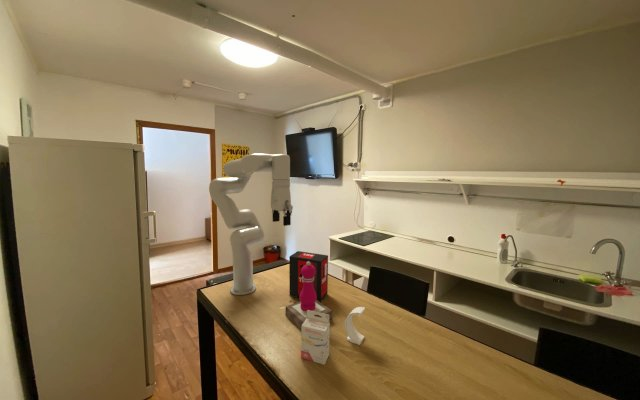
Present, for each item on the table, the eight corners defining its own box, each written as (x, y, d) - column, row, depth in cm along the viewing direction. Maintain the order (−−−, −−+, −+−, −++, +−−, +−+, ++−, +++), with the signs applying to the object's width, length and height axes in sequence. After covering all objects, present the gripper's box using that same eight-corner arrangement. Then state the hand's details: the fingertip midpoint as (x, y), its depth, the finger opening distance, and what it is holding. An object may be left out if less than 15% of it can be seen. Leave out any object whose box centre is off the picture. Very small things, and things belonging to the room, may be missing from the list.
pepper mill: (314, 313, 103) (315, 265, 100) (297, 311, 104) (297, 263, 102) (318, 304, 110) (318, 259, 108) (302, 302, 111) (302, 257, 109)
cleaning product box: (327, 294, 128) (328, 255, 125) (320, 302, 120) (321, 261, 117) (297, 288, 134) (297, 251, 132) (289, 295, 126) (289, 256, 123)
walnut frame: (285, 315, 109) (285, 305, 108) (312, 305, 117) (312, 296, 117) (303, 332, 98) (303, 321, 97) (332, 319, 106) (332, 309, 106)
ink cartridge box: (300, 358, 84) (300, 316, 82) (306, 348, 89) (306, 308, 87) (325, 365, 81) (325, 322, 80) (329, 355, 86) (330, 313, 84)
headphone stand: (359, 345, 91) (360, 313, 89) (344, 339, 94) (344, 308, 93) (364, 338, 95) (365, 307, 93) (349, 332, 98) (350, 302, 96)
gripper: (264, 182, 114) (264, 220, 116) (283, 185, 100) (283, 228, 102) (279, 182, 118) (279, 219, 120) (299, 184, 104) (299, 225, 106)
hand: (281, 223), depth 111 cm, fingers open, 9 cm apart
